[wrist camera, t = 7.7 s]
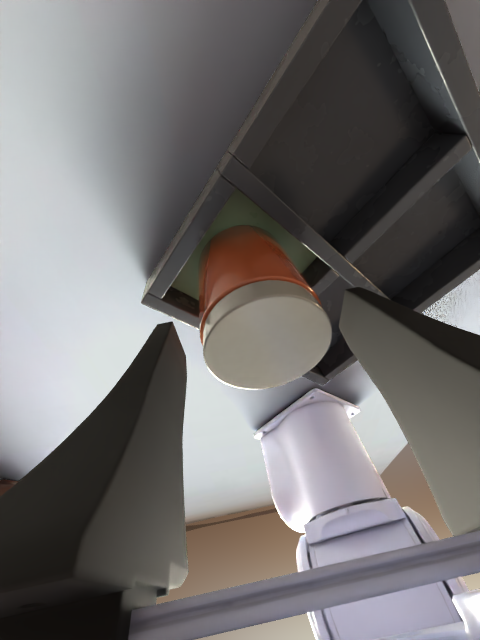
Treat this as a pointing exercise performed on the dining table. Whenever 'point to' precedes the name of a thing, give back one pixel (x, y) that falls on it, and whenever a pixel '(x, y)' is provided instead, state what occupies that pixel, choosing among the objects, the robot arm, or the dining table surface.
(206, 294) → the jar
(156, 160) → the dining table surface
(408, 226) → the rack
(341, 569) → the robot arm
